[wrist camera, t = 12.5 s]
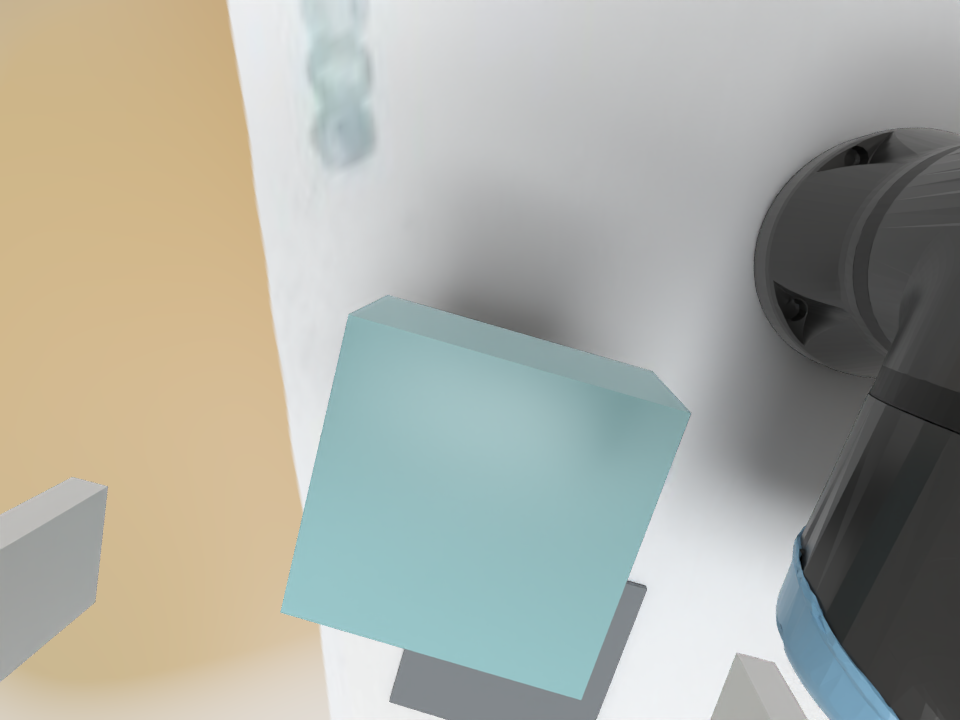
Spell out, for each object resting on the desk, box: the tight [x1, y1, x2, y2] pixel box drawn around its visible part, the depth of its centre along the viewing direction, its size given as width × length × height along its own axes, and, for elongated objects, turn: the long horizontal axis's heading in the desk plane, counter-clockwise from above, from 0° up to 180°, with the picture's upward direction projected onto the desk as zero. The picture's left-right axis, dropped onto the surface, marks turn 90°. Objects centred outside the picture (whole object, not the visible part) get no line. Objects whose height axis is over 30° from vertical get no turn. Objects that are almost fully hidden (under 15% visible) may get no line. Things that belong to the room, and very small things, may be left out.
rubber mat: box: [389, 581, 647, 720], centre depth 46 cm, size 16×16×1 cm
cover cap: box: [281, 295, 691, 700], centre depth 24 cm, size 12×12×6 cm
